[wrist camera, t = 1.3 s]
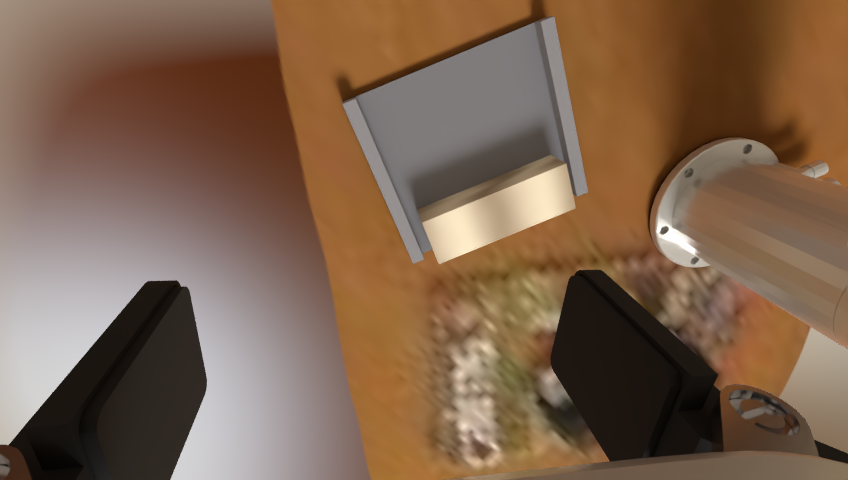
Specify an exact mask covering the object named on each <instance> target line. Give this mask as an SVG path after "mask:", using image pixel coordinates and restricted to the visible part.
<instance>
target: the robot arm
mask: <svg viewBox="0 0 848 480" xmlns="http://www.w3.org/2000/svg"><path fill="white" fill-rule="evenodd" d="M828 170H829V168H828V165H827V164H826V163H825V162H824V161H822V160H817V161H814V162H812V163H809V164H807V165H804V166H803V167H801V168H796V167H792V166H788V165H785V164H781V163H779V160H778V158H777V157H776V155H775V154H774V153H773V151H772V150H771V149H770V148H768V147H767V146H766V145H764V144H762V143H760V142H757V141H754V140H750V139H745V138H741V137H736V138H724V139H720V140H715V141H713V142H711V143H708V144H706V145H703V146H702V147H700V148H698V149H697V150H695V151H693V152H692V153H690V154H689V155H688V156H687V157H685V158H684V159H683V160H682V161H681V162H679V163H678V165H677V166H676V167H675V168H674V169H673V170H672V171H671V172H670V173H669V175H668V176H667V178H666V179H665V181H664V182H663V183H662V185H661V187H660V189H659V191H658V193H657V195H656V197H655V200H654V203H653V206H652V209H651V216H650V233H651V236H652V239H653V242H654V244H655V246H656V247H657V249H658V250H659V251H660V252H661V253H662V254H663V255H664V256H665V257H667V258H668V259H670V260H671V261H673V262H674V263H677V264H679V265H682V266H686V267H705V266H709V265H711V266H713V267H714V268H716V269H717V270H719V271H721V272H722V273H724V274H726V275H727V276H729V277H730V278H732V279H734V280H735V281H737V282H739V283H740V284H742V285H744V286H745V287H747V288H748V289H750V290H752V291H753V292H755V293H757V294H758V295H760V296H761V297H763V298H765V299H766V300H768V301H770V302H771V303H773V304H775V305H776V306H778V307H779V308H781V309H783V310H784V311H786V312H788V313H789V314H791V315H792V316H794V317H796V318H797V319H799V320H801V321H802V322H804V323H805V324H807V325H809V326H810V327H812V328H814V329H815V330H817V331H819V332H820V333H822V334H823V335H825V336H827V337H828V338H830V339H832V340H833V341H835V342H836V343H838V344H840V345H841V346H843V347H845V348H847V349H848V187H845V186H841V184H840V183H839V182H838V181H837V180H835V179H833V178H825V179H822V180H820V179H817V177H819V176H822V175H824V174H826V173H827V172H828ZM551 366H552V369H553V371H554V373H555V374H556V376H557V377H558V379H559V381H560V382H561V384H562V385H563V387H564V389H565V390H566V392H567V393H568V395H569V397H570V398H571V400H572V401H573V403H574V404H575V406H576V408H577V409H578V411H579V412H580V414H581V416H582V417H583V419H584V420H585V422H586V424H587V425H588V427H589V428H590V430H591V432H592V433H593V435H594V436H595V438H596V440H597V441H598V443H599V444H600V446H601V448H602V449H603V451H604V452H605V454H606V456H607V457H608V459H609V460H610V462H602V463H592V464H583V465H573V466H564V467H554V468H545V469H535V470H526V471H517V472H508V473H499V474H490V475H481V476H472V477H463V478H454V479H445V480H848V454H847V453H845V452H842V451H840V450H838V449H835V448H833V447H830V446H828V445H826V444H823V443H821V442H818V441H816V440H814V438H813V435H812V432H811V429H810V427H809V425H808V423H807V421H806V420H805V418H804V417H803V416H802V415H800V413H799V412H798V411H797V410H796V409H794V408H793V407H792V406H791V405H789V404H788V403H787V402H785V401H783V400H782V399H780V398H778V397H776V396H775V395H773V394H771V393H768V392H766V391H764V390H761V389H759V388H755V387H751V386H748V385H740V384H732V385H727V386H725V387H724V388H722V389H721V391H719V390H718V389H717V388H716V387H715V386H714V382H715V380H716V378H717V376H718V374H717V373H716V372H715V371H714V370H713V369H711V368H710V367H709V366H708V365H707V364H706V363H705V362H704V361H702V360H701V359H700V358H699V357H698V356H697V355H696V354H695V353H694V352H692V351H691V350H690V349H689V348H688V347H687V346H686V345H685V344H683V343H682V342H681V341H680V340H679V339H678V338H677V337H676V336H675V335H673V334H672V333H671V332H670V331H669V330H668V329H667V328H666V327H665V326H663V325H662V324H661V323H660V322H659V321H658V320H657V319H656V318H654V317H653V316H652V315H651V314H650V313H649V312H648V311H647V310H646V309H644V308H643V307H642V306H641V305H640V304H639V303H638V302H637V301H636V300H634V299H633V298H632V297H631V296H630V295H629V294H628V293H627V292H625V291H624V290H623V289H622V288H621V287H620V286H619V285H618V284H617V283H615V282H614V281H613V280H612V279H611V278H610V277H609V276H608V275H607V274H605V273H604V272H603V271H601V270H579V271H577V272H576V273H575V275H574V276H571V277H570V279H569V281H568V285H567V290H566V294H565V298H564V302H563V307H562V311H561V315H560V319H559V323H558V328H557V332H556V336H555V340H554V345H553V349H552V353H551ZM206 386H207V378H206V372H205V367H204V362H203V358H202V352H201V347H200V342H199V337H198V332H197V327H196V322H195V317H194V312H193V307H192V302H191V296H190V292H189V289H188V288H187V287H181V286H180V284H179V282H178V281H148V282H146V283H145V284H144V285H143V287H142V288H141V289H140V290H139V291H138V292H137V294H136V295H135V296H134V297H133V298H132V300H131V301H130V302H129V303H128V304H127V306H126V307H125V308H124V309H123V310H122V311H121V313H120V314H119V315H118V316H117V317H116V319H115V320H114V321H113V322H112V323H111V324H110V326H109V327H108V328H107V329H106V330H105V332H104V333H103V334H102V335H101V336H100V337H99V339H98V340H97V341H96V342H95V343H94V345H93V346H92V347H91V348H90V349H89V350H88V352H87V353H86V354H85V355H84V357H83V358H82V359H81V360H80V361H79V362H78V364H77V365H76V366H75V367H74V368H73V369H72V371H71V372H70V373H69V374H68V375H67V376H66V378H65V379H64V380H63V381H62V383H61V384H60V385H59V386H58V387H57V389H56V390H55V391H54V392H53V393H52V394H51V395H50V397H49V398H48V399H47V400H46V401H45V402H44V404H43V405H42V406H41V407H40V408H39V410H38V411H37V412H36V413H35V414H34V416H33V417H32V418H31V419H30V420H29V421H28V423H27V424H26V425H25V426H24V427H23V429H22V430H21V431H20V432H19V434H18V435H17V436H16V437H15V438H14V439H13V441H12V442H11V443H10V444H9V445H0V480H170V479H171V476H172V474H173V471H174V469H175V466H176V464H177V461H178V459H179V457H180V454H181V452H182V449H183V447H184V444H185V442H186V439H187V437H188V435H189V432H190V430H191V427H192V424H193V422H194V420H195V417H196V415H197V413H198V410H199V408H200V405H201V402H202V400H203V398H204V395H205V392H206Z"/></svg>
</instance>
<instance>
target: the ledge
mask: <svg viewBox="0 0 848 480" xmlns="http://www.w3.org/2000/svg"><path fill="white" fill-rule="evenodd" d="M575 208H576V207H575V202H574V197H573V193H572V188H571V183H570V178H569V174H568V169H567V164H566V163H565V162H563V161H561V160H559V159H557V158H556V157H554V156H552V155H549V156H546V157H544V158H542V159H539V160H537V161H534V162H532V163H529V164H527V165H525V166H522V167H520V168H517V169H515V170H512V171H510V172H508V173H505V174H503V175H500V176H498V177H495V178H493V179H491V180H488V181H486V182H483V183H481V184H478V185H476V186H474V187H471V188H469V189H466V190H464V191H461V192H459V193H456V194H454V195H452V196H449V197H447V198H444V199H442V200H439V201H437V202H435V203H432V204H430V205H427V206H425V207H422V208H420V209H418V210H417V212H418V214H419V217H420V219H421V222H422V224H423V227H424V229H425V231H426V234H427V236H428V239H429V241H430V244H431V246H432V248H433V251H434V253H435V256H436V258H437V261H438V263H439V264H441V263H443V262H445V261H448V260H450V259H453V258H455V257H458V256H460V255H463V254H465V253H467V252H470V251H472V250H475V249H477V248H480V247H482V246H484V245H487V244H489V243H492V242H494V241H497V240H499V239H502V238H504V237H506V236H509V235H511V234H514V233H516V232H519V231H521V230H524V229H526V228H528V227H531V226H533V225H536V224H538V223H541V222H543V221H546V220H548V219H550V218H553V217H555V216H558V215H560V214H563V213H565V212H567V211H570V210H572V209H575Z"/></svg>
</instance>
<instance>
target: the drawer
mask: <svg viewBox="0 0 848 480" xmlns="http://www.w3.org/2000/svg"><path fill="white" fill-rule="evenodd" d="M343 107H344V109H345V111H346V113H347V116H348V118H349V120H350V122H351V125H352V127H353V129H354V131H355V134H356V136H357V138H358V140H359V143H360V145H361V147H362V149H363V152H364V154H365V156H366V158H367V161H368V163H369V165H370V167H371V170H372V172H373V174H374V176H375V179H376V181H377V183H378V185H379V188H380V190H381V192H382V194H383V197H384V199H385V201H386V203H387V206H388V208H389V210H390V212H391V215H392V217H393V219H394V221H395V224H396V226H397V228H398V230H399V233H400V235H401V237H402V239H403V242H404V244H405V246H406V248H407V251H408V253H409V255H410V257H411V260H412V262H413V264H414V263H416V262H419V261H421V260H424V257H423V254H422V253H424V252H427V251H429V250H432V249H433V248H432V246H431V244H430V241H429V239H428V236H427V234H426V231H425V229H424V227H423V224H422V222H421V219H420V217H419V214H418V212H417V210H418V209H420V208H422V207H425V206H427V205H430V204H432V203H435V202H437V201H439V200H442V199H444V198H447V197H449V196H452V195H454V194H456V193H459V192H461V191H464V190H466V189H469V188H471V187H474V186H476V185H478V184H481V183H483V182H486V181H488V180H491V179H493V178H495V177H498V176H500V175H503V174H505V173H508V172H510V171H512V170H515V169H517V168H520V167H522V166H525V165H527V164H529V163H532V162H534V161H537V160H539V159H542V158H544V157H546V156H549V155H552V156H554V157H556V158H557V159H559V160H561V161H563V162H565V163H566V164H567V169H568V174H569V178H570V183H571V188H572V193H573V194H574V195H575V196H580V195H582V194H585V193H587V192H588V189H587V184H586V179H585V174H584V169H583V163H582V158H581V153H580V148H579V143H578V138H577V132H576V127H575V122H574V117H573V112H572V106H571V101H570V96H569V91H568V86H567V81H566V75H565V70H564V65H563V60H562V55H561V49H560V44H559V39H558V34H557V29H556V24H555V18H554V16H552V17H545V18H543V19H540V20H538V21H535V22H533V23H531V24H528V25H526V26H523V27H521V28H518V29H516V30H514V31H511V32H509V33H506V34H504V35H502V36H499V37H497V38H494V39H492V40H490V41H487V42H485V43H482V44H480V45H478V46H475V47H473V48H470V49H468V50H466V51H463V52H461V53H458V54H456V55H454V56H451V57H449V58H446V59H444V60H441V61H439V62H437V63H434V64H432V65H429V66H427V67H425V68H422V69H420V70H417V71H415V72H413V73H410V74H408V75H405V76H403V77H401V78H398V79H396V80H393V81H391V82H389V83H386V84H384V85H381V86H379V87H377V88H374V89H372V90H369V91H367V92H364V93H362V94H360V95H357V96H355V97H352V98H350V99H348V100H345V101H343Z"/></svg>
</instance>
